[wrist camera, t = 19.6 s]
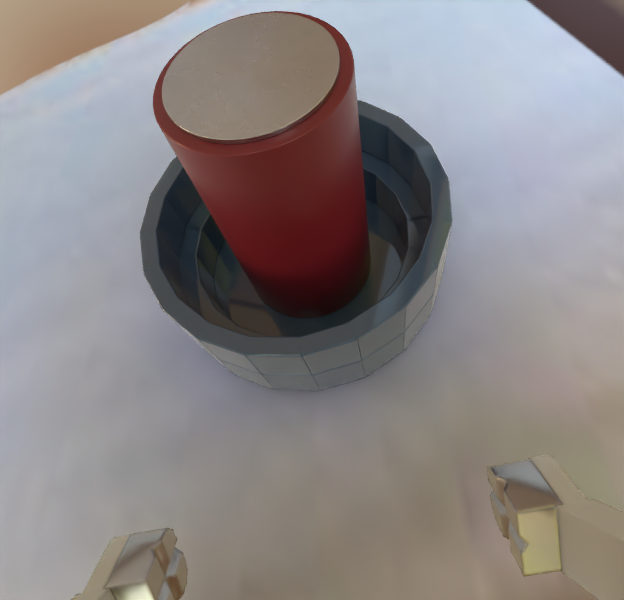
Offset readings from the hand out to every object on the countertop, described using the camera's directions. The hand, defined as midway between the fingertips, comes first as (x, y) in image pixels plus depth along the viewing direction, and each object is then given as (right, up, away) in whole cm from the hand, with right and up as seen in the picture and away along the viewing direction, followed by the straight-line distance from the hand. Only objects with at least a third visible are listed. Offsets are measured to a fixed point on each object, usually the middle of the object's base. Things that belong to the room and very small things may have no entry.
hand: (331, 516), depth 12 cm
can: (-1, +7, +13) cm, 15 cm away
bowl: (-1, +7, +13) cm, 15 cm away
